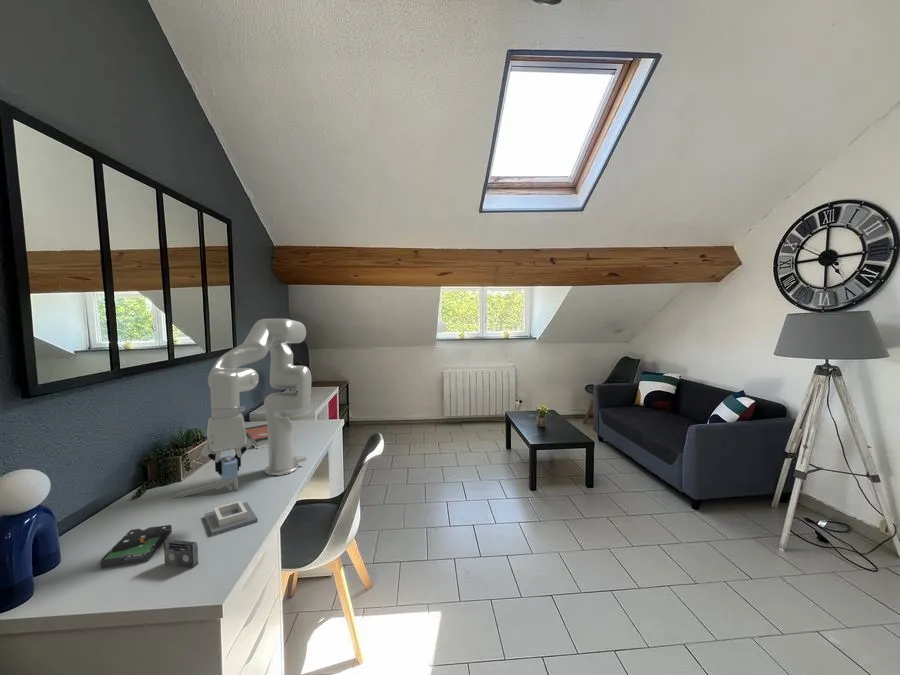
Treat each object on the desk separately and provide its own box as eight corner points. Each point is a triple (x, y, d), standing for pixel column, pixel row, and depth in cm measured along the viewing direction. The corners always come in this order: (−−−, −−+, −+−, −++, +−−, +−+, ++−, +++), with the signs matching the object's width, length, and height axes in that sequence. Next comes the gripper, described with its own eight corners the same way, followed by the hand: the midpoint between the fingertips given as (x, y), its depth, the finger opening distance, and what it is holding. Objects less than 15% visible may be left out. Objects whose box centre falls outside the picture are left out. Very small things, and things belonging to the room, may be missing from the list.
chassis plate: (246, 505, 130) (246, 496, 130) (257, 521, 119) (257, 512, 119) (204, 516, 123) (204, 507, 123) (211, 536, 112) (211, 525, 112)
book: (240, 437, 206) (239, 428, 206) (274, 431, 218) (274, 422, 217) (254, 450, 186) (254, 439, 186) (292, 441, 198) (291, 432, 198)
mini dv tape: (198, 564, 99) (197, 541, 99) (193, 568, 98) (192, 544, 97) (170, 561, 100) (168, 538, 100) (164, 565, 99) (163, 541, 99)
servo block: (232, 469, 125) (232, 450, 125) (239, 478, 118) (238, 458, 118) (218, 472, 123) (217, 453, 122) (223, 481, 116) (223, 461, 115)
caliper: (238, 490, 143) (237, 473, 142) (237, 491, 141) (236, 474, 141) (173, 497, 137) (172, 480, 137) (171, 499, 136) (171, 481, 136)
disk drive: (130, 539, 112) (100, 570, 98) (129, 529, 112) (99, 559, 97) (172, 533, 115) (149, 563, 100) (172, 523, 115) (148, 552, 100)
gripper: (253, 406, 127) (255, 461, 128) (191, 414, 117) (194, 474, 118) (259, 410, 122) (261, 468, 123) (194, 419, 111) (197, 482, 112)
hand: (228, 470), depth 120 cm, fingers closed on servo block, 4 cm apart
